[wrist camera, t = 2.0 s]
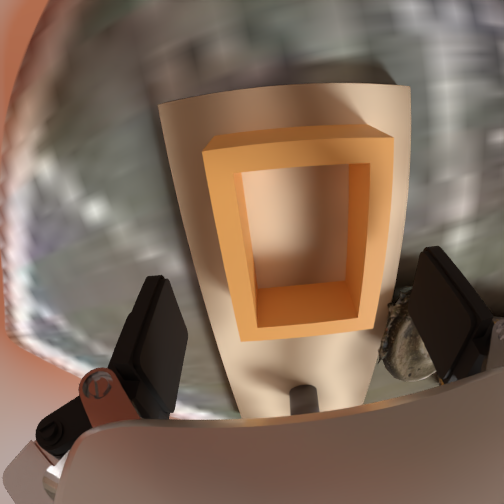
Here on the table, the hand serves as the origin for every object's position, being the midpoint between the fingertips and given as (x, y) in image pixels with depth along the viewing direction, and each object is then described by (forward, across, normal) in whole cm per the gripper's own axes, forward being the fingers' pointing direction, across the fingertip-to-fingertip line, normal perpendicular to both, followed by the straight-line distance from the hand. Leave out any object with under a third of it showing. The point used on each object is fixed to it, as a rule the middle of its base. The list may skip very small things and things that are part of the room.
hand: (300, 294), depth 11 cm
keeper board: (+7, -1, +8) cm, 11 cm away
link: (+6, -1, 0) cm, 6 cm away
